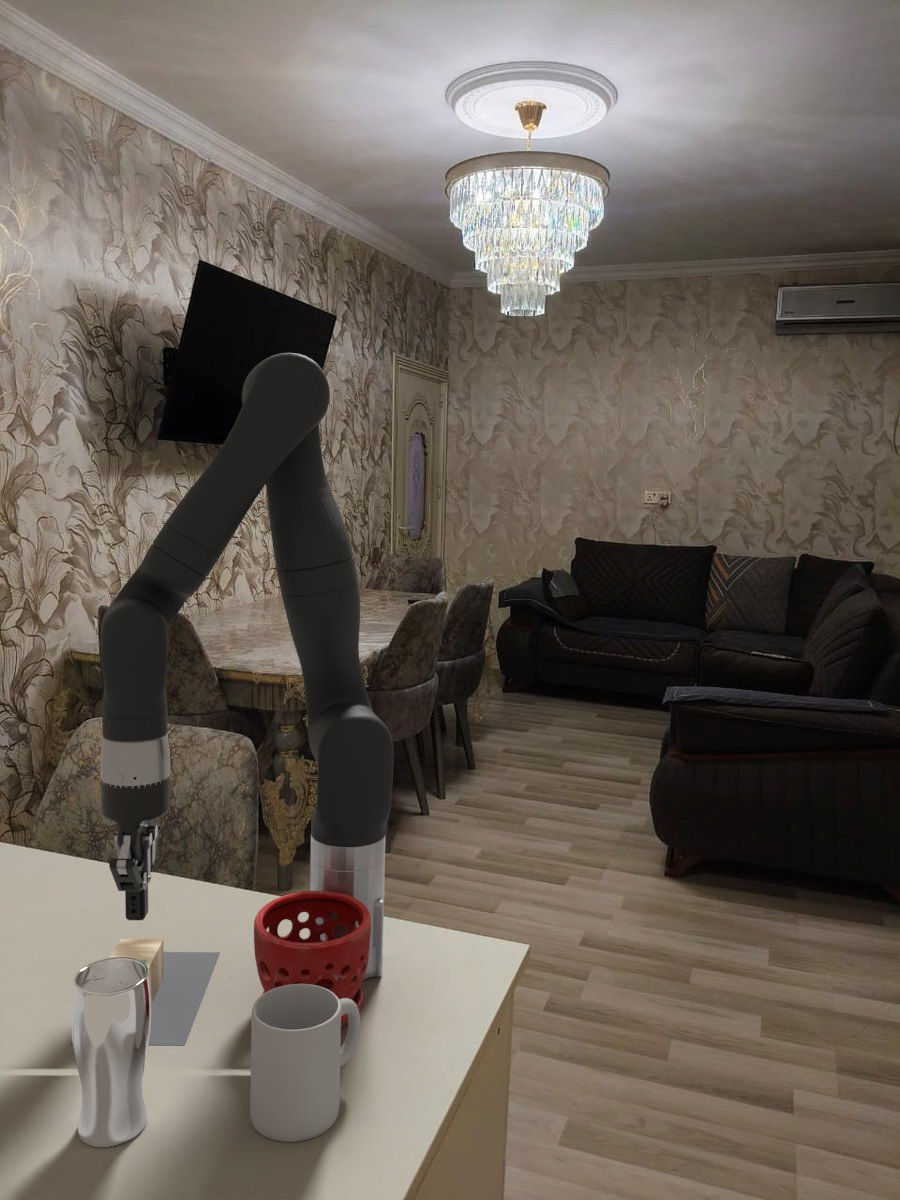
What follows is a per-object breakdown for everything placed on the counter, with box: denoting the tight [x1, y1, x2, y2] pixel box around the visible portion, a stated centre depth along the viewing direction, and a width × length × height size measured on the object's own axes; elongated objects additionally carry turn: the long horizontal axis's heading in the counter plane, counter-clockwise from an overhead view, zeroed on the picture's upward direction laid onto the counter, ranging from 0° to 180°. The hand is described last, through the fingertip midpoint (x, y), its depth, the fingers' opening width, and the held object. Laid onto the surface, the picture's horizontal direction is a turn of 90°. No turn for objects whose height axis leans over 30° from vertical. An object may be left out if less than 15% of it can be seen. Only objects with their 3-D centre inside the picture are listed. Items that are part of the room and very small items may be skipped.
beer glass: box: [70, 957, 151, 1148], centre depth 88 cm, size 7×7×15 cm
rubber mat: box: [69, 951, 221, 1046], centre depth 111 cm, size 12×20×1 cm, turn 3°
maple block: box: [109, 938, 164, 1004], centre depth 108 cm, size 5×5×12 cm
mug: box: [249, 984, 361, 1143], centre depth 92 cm, size 12×8×11 cm
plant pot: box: [253, 890, 371, 1027], centre depth 108 cm, size 13×13×12 cm
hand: (137, 917), depth 110 cm, fingers closed
